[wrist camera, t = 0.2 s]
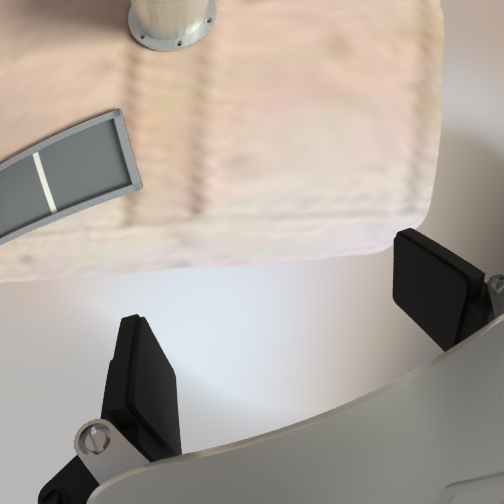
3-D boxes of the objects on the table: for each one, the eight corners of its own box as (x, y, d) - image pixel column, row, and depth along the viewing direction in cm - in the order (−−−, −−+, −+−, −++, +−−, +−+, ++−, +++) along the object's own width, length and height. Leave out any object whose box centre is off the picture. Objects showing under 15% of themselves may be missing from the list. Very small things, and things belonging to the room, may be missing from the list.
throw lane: (-43, 193, 33) (-49, 196, 31) (121, 109, 37) (118, 108, 35) (-21, 253, 38) (-25, 257, 37) (142, 186, 42) (141, 189, 40)
